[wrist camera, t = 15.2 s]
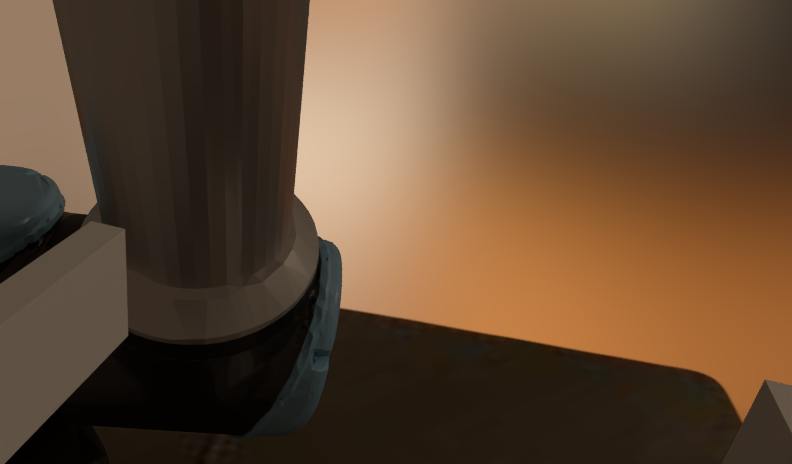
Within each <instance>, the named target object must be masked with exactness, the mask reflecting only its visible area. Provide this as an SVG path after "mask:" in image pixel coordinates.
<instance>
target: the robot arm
mask: <svg viewBox="0 0 792 464" xmlns="http://www.w3.org/2000/svg"><path fill="white" fill-rule="evenodd" d="M309 2H310V0H53V4H54V9H55V13H56V18H57V22H58V27H59V31H60V36H61V40H62V45H63V49H64V54H65V58H66V62H67V67H68V72H69V76H70V81H71V85H72V90H73V94H74V99H75V103H76V108H77V112H78V117H79V121H80V126H81V130H82V135H83V139H84V143H85V148H86V153H87V157H88V162H89V166H90V170H91V175H92V180H93V184H94V189H95V193H96V198H97V203H96V205H95V206H94V207H93V208H92V209H91V211H90V212H89V214H88V215H85V214H75V213H68V212H64V207H65V199H64V196H63V195H62V194H61V193H60V190H59V188H58V186H57V185H56V183H55V182H54V181H53V180H52V179H51V178H49V177H47V176H45V175H41V174H40V173H38V172H37V171H34V170H32V169H27V168H22V167H15V166H7V165H0V464H109V461H108V457H107V454H106V451H105V448H104V446H103V444H102V442H101V440H100V439H99V437H98V435H97V433H96V432H95V430H94V428H93V427H92V426H106V427H121V428H137V429H152V430H168V431H183V432H198V433H214V434H229V435H230V436H231V437H234V438H237V439H246V438H251V437H253V436H285V435H289V434H292V433H295V432H297V431H298V430H300V429H301V428H302V427H303V426H304V425H305V424H306V423H307V422H308V421H309V419H310V418H311V416H312V415H313V413H314V411H315V409H316V407H317V404H318V402H319V399H320V396H321V393H322V390H323V387H324V384H325V380H326V376H327V372H328V367H329V354H330V352H331V350H332V347H333V343H334V340H335V336H336V330H337V324H338V317H339V309H340V301H341V289H342V288H341V287H342V262H341V255H340V252H339V250H338V248H337V247H336V246H335V245H334V244H333V243H332V242H329V241H327V240H323V239H322V238H320V237H318V236H317V231H316V227H315V223H314V221H313V219H312V217H311V215H310V213H309V211H308V210H307V209H306V207H305V206H304V205H303V203H302V202H301V201H300V200H299V199H298V198H297V197H296V196H295V194H294V186H295V173H296V162H297V161H296V160H297V148H298V136H299V125H300V112H301V100H302V88H303V75H304V64H305V52H306V40H307V27H308V16H309ZM722 464H792V386H791V385H786V384H782V383H778V382H774V381H769V380H765V381H764V383H763V385H762V386H761V389H760V390H759V392H758V394H757V396H756V398H755V400H754V402H753V404H752V406H751V408H750V410H749V412H748V414H747V416H746V418H745V420H744V422H743V424H742V425H741V427H740V429H739V431H738V433H737V435H736V437H735V439H734V441H733V443H732V445H731V447H730V449H729V451H728V453H727V455H726V457H725V459H724V461H723V463H722Z"/></svg>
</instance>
